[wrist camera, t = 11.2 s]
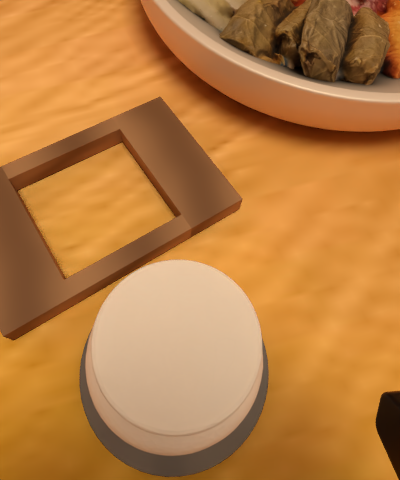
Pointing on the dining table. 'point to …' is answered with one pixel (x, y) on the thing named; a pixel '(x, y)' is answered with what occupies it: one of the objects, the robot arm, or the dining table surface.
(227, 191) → the pocket board
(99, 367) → the supplement bottle
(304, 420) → the dining table surface
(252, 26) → the bowl
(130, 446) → the slate coaster
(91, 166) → the dining table surface
